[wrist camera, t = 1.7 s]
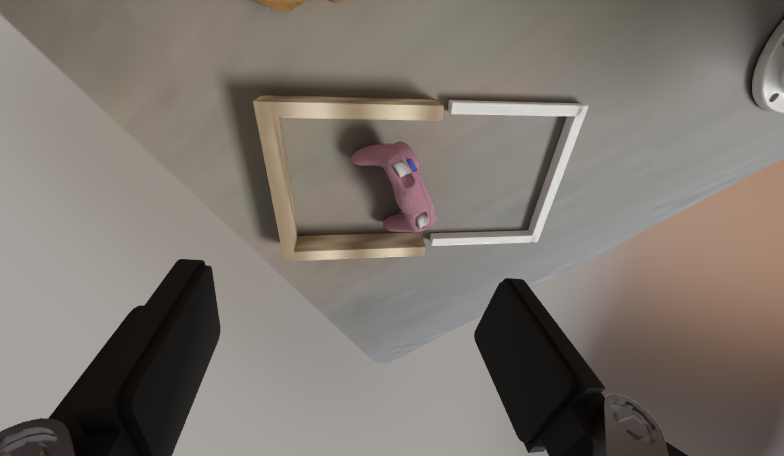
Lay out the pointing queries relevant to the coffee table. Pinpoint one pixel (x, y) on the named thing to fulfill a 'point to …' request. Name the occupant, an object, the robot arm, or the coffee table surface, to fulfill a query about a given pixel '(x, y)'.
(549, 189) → the white bay
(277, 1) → the ashtray
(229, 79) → the coffee table surface
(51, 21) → the coffee table surface
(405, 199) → the video game controller
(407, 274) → the coffee table surface
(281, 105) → the wooden u-shaped frame
